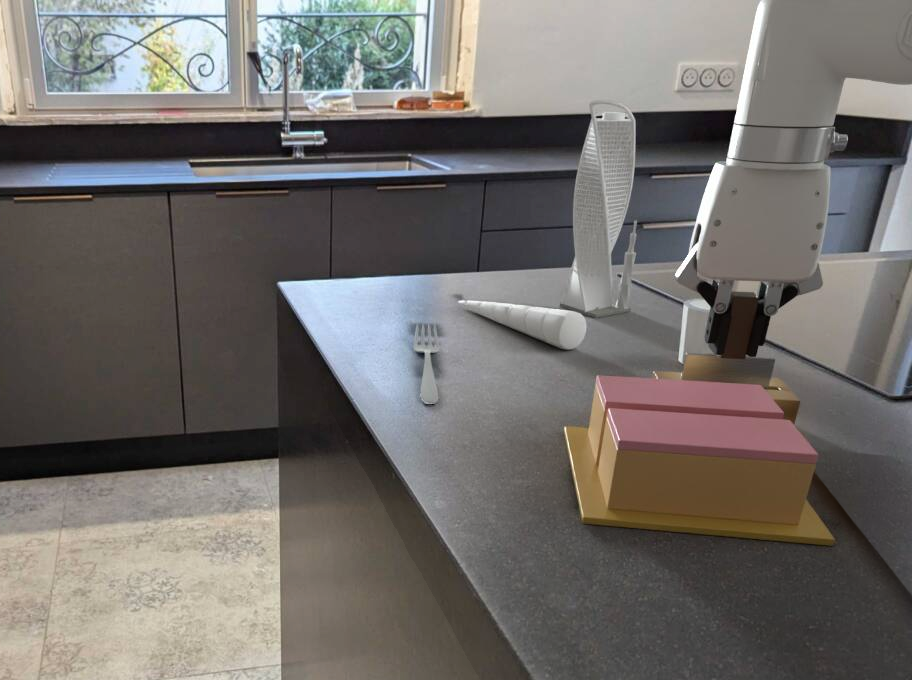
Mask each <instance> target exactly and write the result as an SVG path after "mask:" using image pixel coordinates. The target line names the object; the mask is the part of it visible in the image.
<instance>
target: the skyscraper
mask: <svg viewBox="0 0 912 680" xmlns="http://www.w3.org/2000/svg"><path fill="white" fill-rule="evenodd" d="M596 105H608V106H614V107H616V108H620V109H622V110H623V112H622V111H597V112H595V111H596V110H595V106H596ZM588 106H589V111H590V115H591V119H590V122H589V125H588V129H587V133H586V135H585V139H584V143H583V147H582V150H581V154H580V158H579V161H578V162H579V163H578V166H577V172H576V177H575V182H574V183H575V184H574V190H573V200H572V201H573V202H572V234H573V235H572V236H573V246H574V254H575V255H574V257H573V261H572V265H571V267H570V270H569V274H568V277H567V280H566V283H565V286H564V290H563V293H562V296H561V299H560V302H559V307H560V308H562V309H565V310H568V311H574V312H577V313H581V314H582V315H584V316H588V317H591V318H595V319H597V318H602V317H608V316H613V315H617V314H622V313H623V314H624V313H628V312H631V311H632V308H631V307H629V300H630V299H629V298H630V294H631V291H632V287H633V283H632V279H633V278H632V277H633V270H634V266H635V261H636V257H637V252H635V244H636V240H637V235H638V234H637V233H636V229H637V224H638V220H634V221H633V228H632V232H630V235H629V243H628V245H629V246H628V249H627V251H625V252H624V257H623V267H622V274H621V277H620V281H619V282H618V288H617V289H618V290H617V300H616V303H615V302H614V290H613V267H612V265H613V264H612V252H613V249H614V248H615V245H616V243H617V240H618V238H619V235H620V233H621V230H622V227H623V225H624V221H625V218H626V215H627V212H628V208H629V204H630V201H631V196H632V190H633V186H634V185H633V184H634V176H635V168H636V166H635V165H636V135H637V133H636V125H637V124H636V118H635V116H634V115H633V113H632V111H631V110H630V109H629V107H627V106H626V105H625V104H623V103H620V102H618V101H614V100H609V99H608V100H607V99H598V100H594V101H591V102H590V103H589V104H588ZM600 116H602V118H600ZM597 117H599V118H597Z"/></svg>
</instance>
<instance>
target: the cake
mask: <svg viewBox="0 0 912 680" xmlns="http://www.w3.org/2000/svg"><path fill="white" fill-rule="evenodd" d="M593 393H594V394H593V399H592V405H591V412H590V419H589V423H588V424H589V426H588V427H583V426H582V427H580V426H567V425H566V426H564V428H563V435H564V439H565V444H566V448H567V449H566V450H567V454H568V459H569V465H570V468H571V474H572V479H573V484H574V488H575V489H574V490H575V494H576V499H577V503H578V509H579V514H580V520H581V523H582V524H585V525H593V526H594V525H597V526H606V527H617V528H629V529H640V530H641V529H642V530H649V531H650V530H651V531H660V532H661V531H662V532H673V533H682V534H683V533H684V534H685V533H686V534H694V535H695V534H696V535H706V536H715V537H716V536H717V537H718V536H719V537H727V538H728V537H729V538H741V539H752V540H760V541H761V540H765V541H775V542H784V543H795V544H796V543H797V544H807V545H817V546H828V547H834V546H835V543H836V538H835V537H834V536H833V534H832V533H831V531H830V530H829V528H827V526H826V524H825V523H824V521H822V518H820V517H819V515H818V513H817V512H816V511H815V509H814V507H812V505H811V504H810V502H809V501H808V500H807V497H808V495H809V490H810V487H811V483H812V480H813V476H814V472H815V471H816V470H815V469H816V464H817V463H818V459H819V453H818V451H816V450H815V448H814V447H813V445H811V443H810V442H809V441H808V440H807V438H806V437H805V436H804V435H803V434H802V433H801V432H800V430H799V428H797V427H796V426H795V424H793V423H792V422H791V421H790V420H783V416H784V412H783V411H782V410H781V409H780V407H779V406H778V405H777V404H776V403H775V401H774V400H773V399H772V398H771V397H770V395H769V394H768V393H767V392H766V391H765V389H764V388H763V387H762V386H761V385H754V384H737V383H720V382H704V381H687V380H670V379H653V378H652V377H633V376H618V375H617V376H616V375H602V374H601V375H600V374H597V375H596V378H595V385H594V392H593Z"/></svg>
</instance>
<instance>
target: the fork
mask: <svg viewBox="0 0 912 680" xmlns="http://www.w3.org/2000/svg"><path fill="white" fill-rule="evenodd" d="M420 332H421V333H420V344H418V342H419V323H416V327H415V332H414V340H413V347H414V348H413V351H415V353H421V354H422V353H424V364H423V370H422V371H423V372H422V378H421V385H420V391H421V393H419V398H420V397H421V399H423V401H425V402H428V403H429V404H430V403H432V404H434V403H436V402H437V401H438V402H439V400H440V397H439V391H438V387H437V383H436V379H435V378H436V377H435V373H434V370H433V365H432V358H431V354H437V353H438V352H439V351H440V345H439V339H438V333H437V332H438V331H437V326H436V324H435V323H434V324H433V339H434V344H432V332H431V324H430V323H428V324H427V344H425V324H424V323H422V325H421V331H420ZM421 399H420V400H421ZM438 399H439V400H438ZM438 402H437V403H438ZM437 403H436V404H437Z"/></svg>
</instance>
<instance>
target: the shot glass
mask: <svg viewBox="0 0 912 680" xmlns="http://www.w3.org/2000/svg"><path fill="white" fill-rule="evenodd" d="M709 312H710V306H709V305H708V303H707V302H706V301H705V300H704V299H703V297H701V298H697V297H696V298H689V299H687V300H684V301H683V308H682V317H681V318H682V320H681V329H680V339H679V351H678V362H679V363H680V364H682V365H683V364H684V359H685V354H686V353H698V354H714V353H713V352H712V350H711V349H710V348H709V346H708V343H706V342H705V339H704V337H705V331H706V326H707V321H708V317H709Z"/></svg>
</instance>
